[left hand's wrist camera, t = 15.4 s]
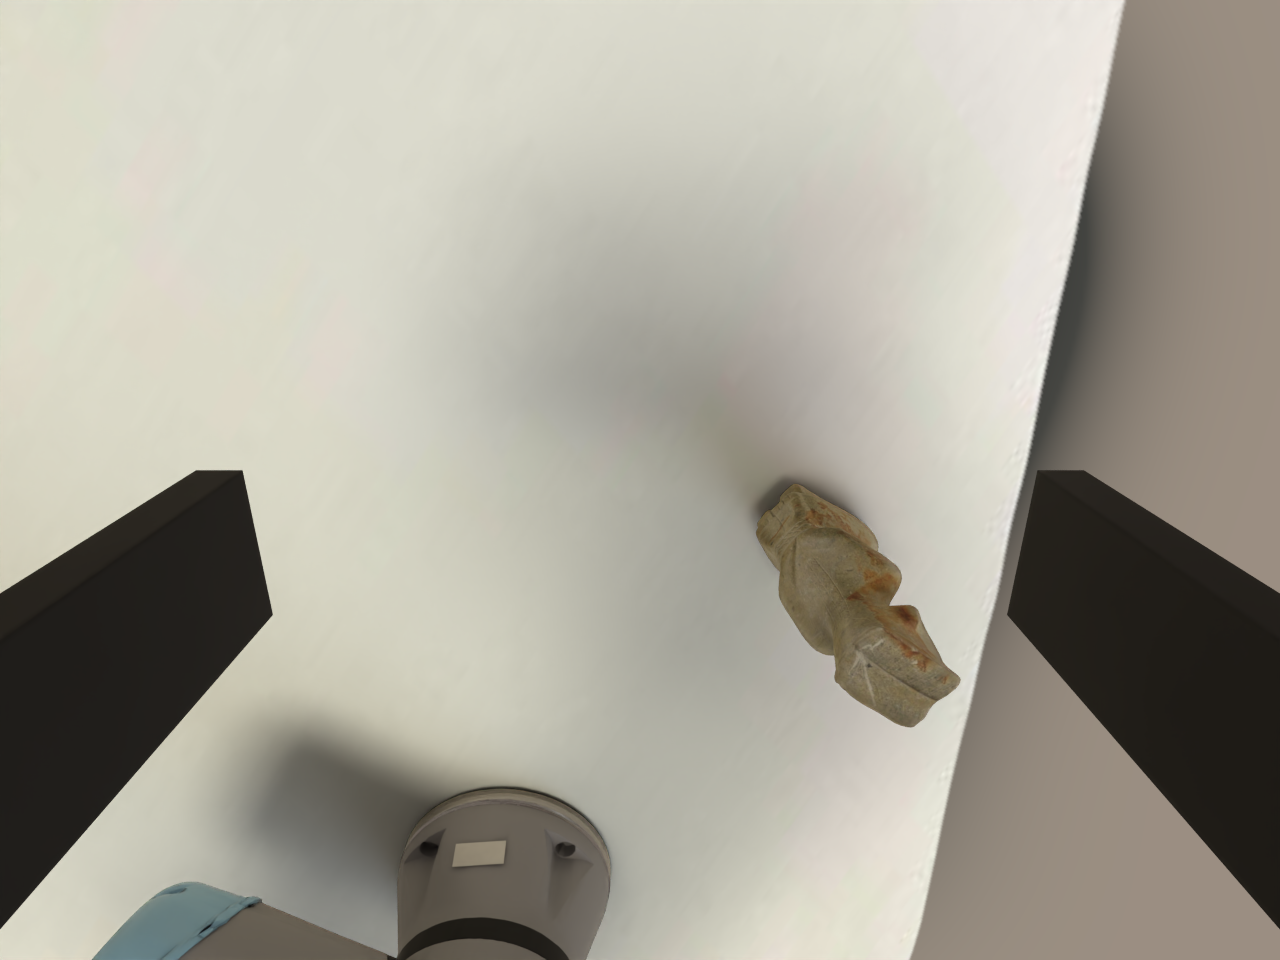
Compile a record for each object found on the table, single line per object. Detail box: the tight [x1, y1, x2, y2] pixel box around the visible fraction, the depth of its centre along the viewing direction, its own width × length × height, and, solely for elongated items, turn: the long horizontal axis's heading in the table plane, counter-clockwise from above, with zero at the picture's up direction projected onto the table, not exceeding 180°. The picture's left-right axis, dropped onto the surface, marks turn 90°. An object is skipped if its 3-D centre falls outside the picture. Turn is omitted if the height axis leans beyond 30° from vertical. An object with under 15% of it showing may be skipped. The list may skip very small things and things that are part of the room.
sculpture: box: [756, 484, 961, 727], centre depth 37 cm, size 6×7×15 cm
